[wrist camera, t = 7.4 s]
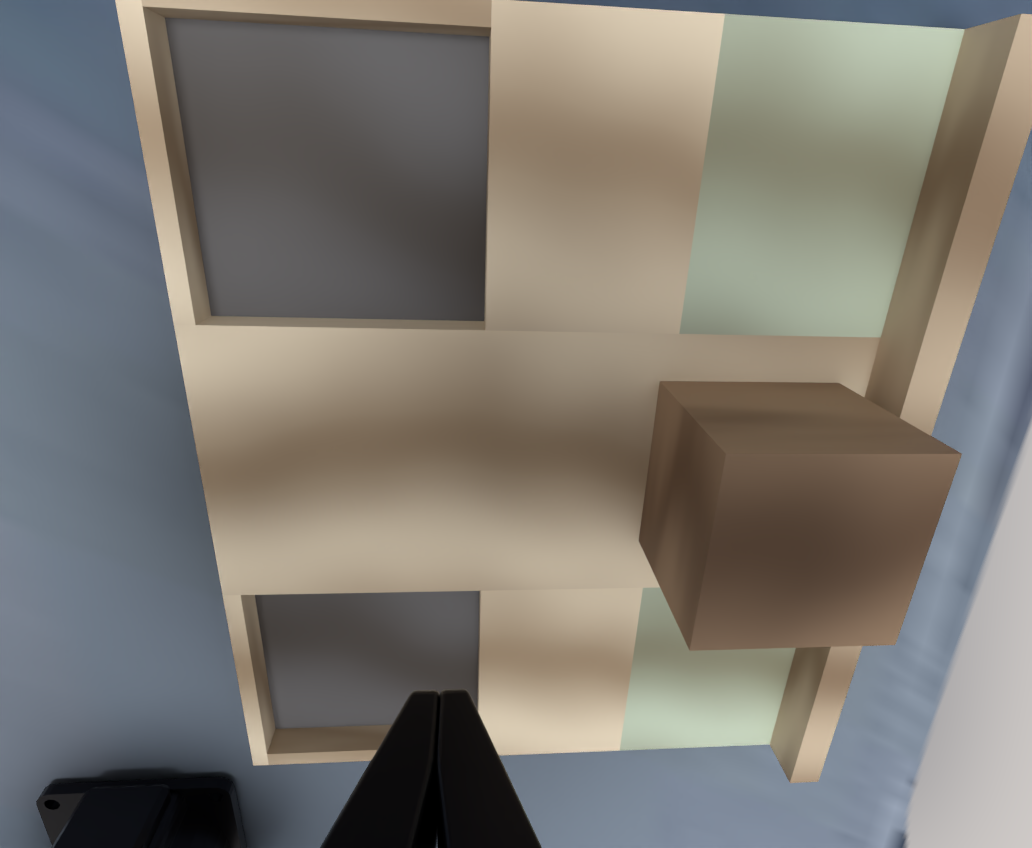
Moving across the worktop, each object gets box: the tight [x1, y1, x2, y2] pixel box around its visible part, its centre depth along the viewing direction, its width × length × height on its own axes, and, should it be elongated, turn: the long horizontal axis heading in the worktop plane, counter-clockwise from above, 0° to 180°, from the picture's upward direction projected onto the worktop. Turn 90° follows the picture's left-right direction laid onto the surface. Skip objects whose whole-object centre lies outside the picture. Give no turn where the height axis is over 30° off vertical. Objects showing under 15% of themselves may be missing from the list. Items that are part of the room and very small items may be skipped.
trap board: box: [115, 0, 1032, 783], centre depth 17 cm, size 22×19×3 cm
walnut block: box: [639, 381, 962, 651], centre depth 15 cm, size 5×5×4 cm
